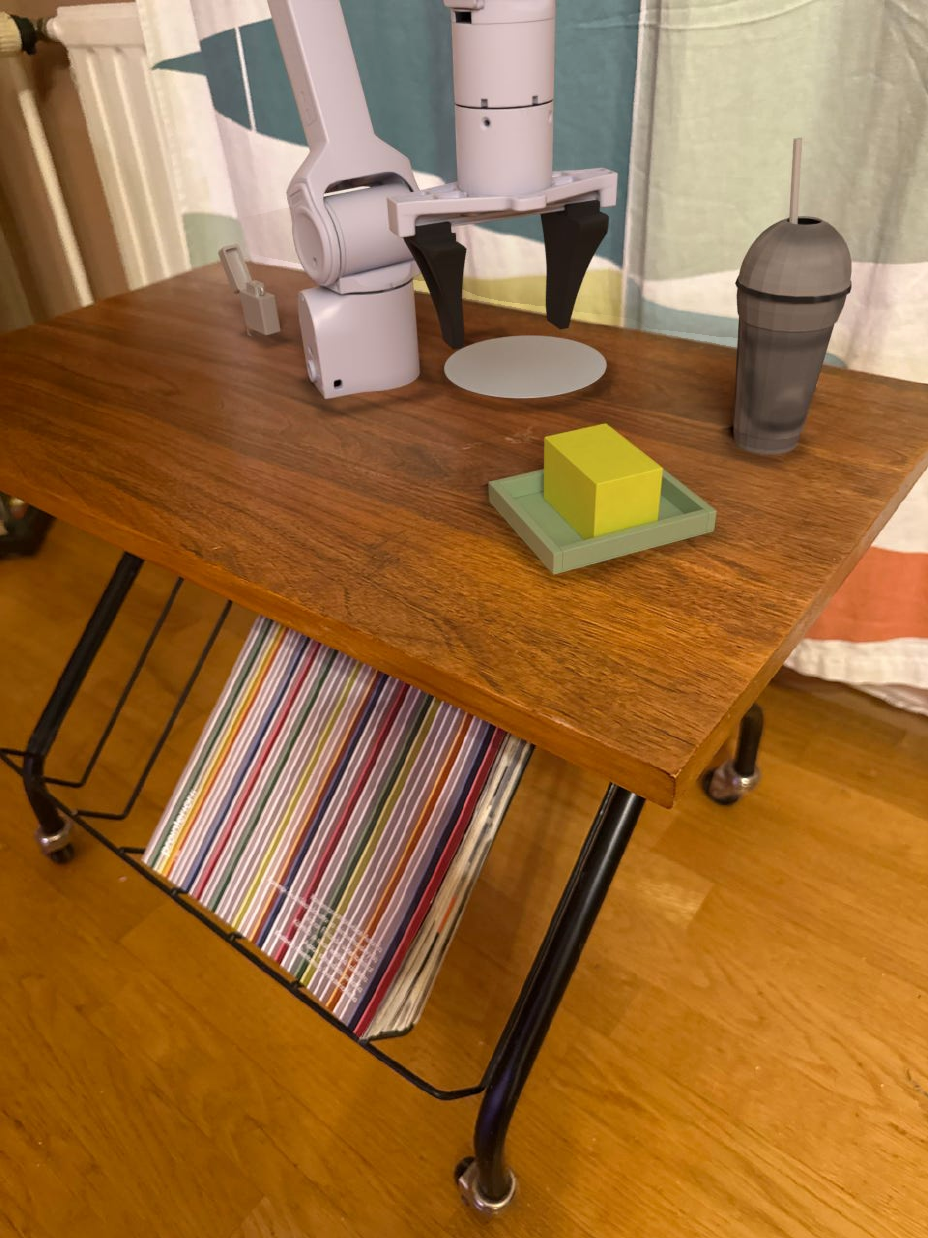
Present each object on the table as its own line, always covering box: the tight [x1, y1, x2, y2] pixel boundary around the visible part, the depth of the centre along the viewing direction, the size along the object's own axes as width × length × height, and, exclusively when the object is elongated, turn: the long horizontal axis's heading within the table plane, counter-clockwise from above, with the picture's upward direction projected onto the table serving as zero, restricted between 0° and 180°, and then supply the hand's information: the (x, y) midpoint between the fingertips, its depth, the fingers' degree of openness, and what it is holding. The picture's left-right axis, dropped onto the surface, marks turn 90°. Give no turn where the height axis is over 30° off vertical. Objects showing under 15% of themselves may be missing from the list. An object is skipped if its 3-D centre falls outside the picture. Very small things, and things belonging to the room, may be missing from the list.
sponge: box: [543, 422, 664, 540], centre depth 57 cm, size 4×7×4 cm, turn 22°
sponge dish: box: [488, 468, 718, 575], centre depth 58 cm, size 11×10×2 cm
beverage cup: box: [732, 137, 853, 455], centre depth 60 cm, size 7×7×20 cm
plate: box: [443, 335, 608, 399], centre depth 78 cm, size 14×14×1 cm
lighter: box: [217, 243, 282, 338], centre depth 87 cm, size 7×2×8 cm, turn 40°
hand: (506, 333), depth 60 cm, fingers open, 7 cm apart
